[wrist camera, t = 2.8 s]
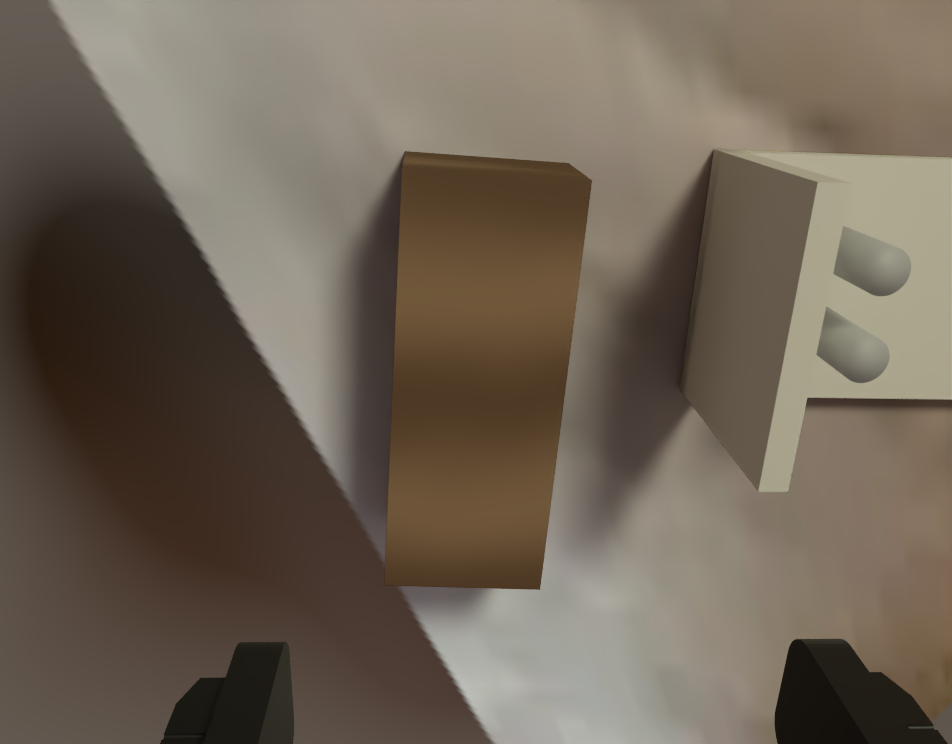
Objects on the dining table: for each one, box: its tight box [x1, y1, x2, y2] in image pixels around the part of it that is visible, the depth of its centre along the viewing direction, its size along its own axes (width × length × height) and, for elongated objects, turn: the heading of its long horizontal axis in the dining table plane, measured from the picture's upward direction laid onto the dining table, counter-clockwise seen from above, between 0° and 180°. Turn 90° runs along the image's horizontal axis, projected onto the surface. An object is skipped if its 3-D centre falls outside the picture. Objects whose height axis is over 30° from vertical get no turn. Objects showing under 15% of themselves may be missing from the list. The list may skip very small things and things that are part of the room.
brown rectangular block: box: [384, 151, 592, 590], centre depth 25 cm, size 13×5×4 cm, turn 176°
